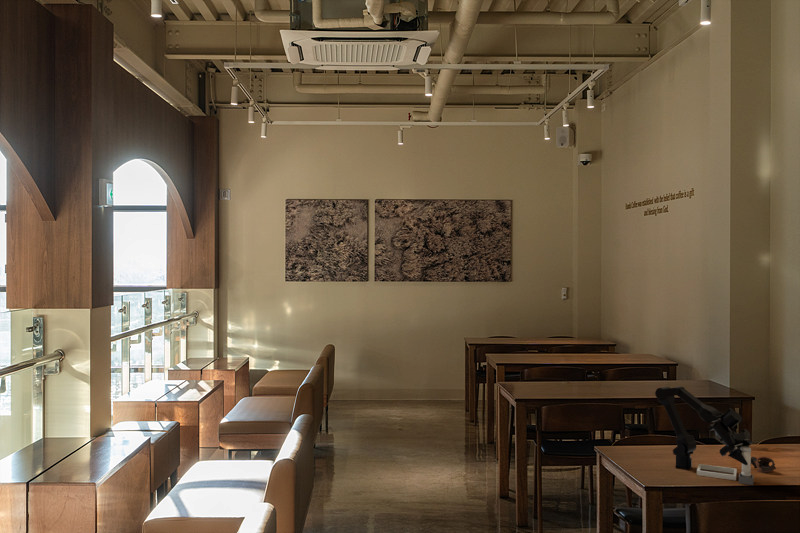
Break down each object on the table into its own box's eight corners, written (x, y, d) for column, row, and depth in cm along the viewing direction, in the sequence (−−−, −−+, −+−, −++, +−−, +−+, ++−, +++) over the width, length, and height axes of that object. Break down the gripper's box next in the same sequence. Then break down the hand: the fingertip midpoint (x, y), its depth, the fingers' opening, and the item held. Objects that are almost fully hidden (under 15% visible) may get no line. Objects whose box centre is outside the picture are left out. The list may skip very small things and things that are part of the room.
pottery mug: (779, 473, 316) (780, 460, 312) (768, 485, 311) (769, 472, 307) (753, 461, 325) (754, 448, 321) (743, 472, 320) (743, 459, 316)
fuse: (741, 476, 297) (741, 448, 297) (741, 474, 300) (741, 445, 300) (750, 477, 295) (751, 449, 295) (751, 475, 298) (751, 447, 298)
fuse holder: (738, 485, 296) (738, 476, 296) (738, 481, 302) (739, 472, 301) (753, 487, 294) (753, 478, 294) (753, 483, 299) (753, 474, 299)
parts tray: (696, 477, 308) (696, 470, 308) (698, 470, 319) (698, 463, 319) (735, 482, 300) (736, 475, 300) (736, 475, 311) (736, 468, 311)
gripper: (726, 426, 295) (751, 457, 286) (748, 420, 306) (773, 450, 297) (709, 440, 302) (733, 471, 293) (731, 434, 313) (755, 464, 304)
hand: (749, 464), depth 296 cm, fingers closed on fuse, 4 cm apart
